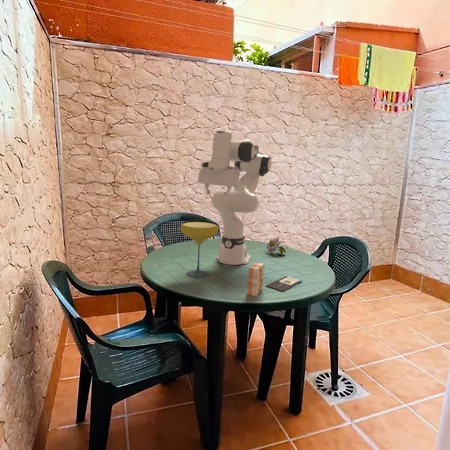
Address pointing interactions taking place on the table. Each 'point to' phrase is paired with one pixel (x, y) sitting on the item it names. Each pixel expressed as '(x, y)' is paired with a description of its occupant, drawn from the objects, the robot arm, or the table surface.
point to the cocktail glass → (199, 238)
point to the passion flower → (275, 246)
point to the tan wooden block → (255, 279)
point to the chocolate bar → (283, 283)
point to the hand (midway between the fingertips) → (216, 195)
